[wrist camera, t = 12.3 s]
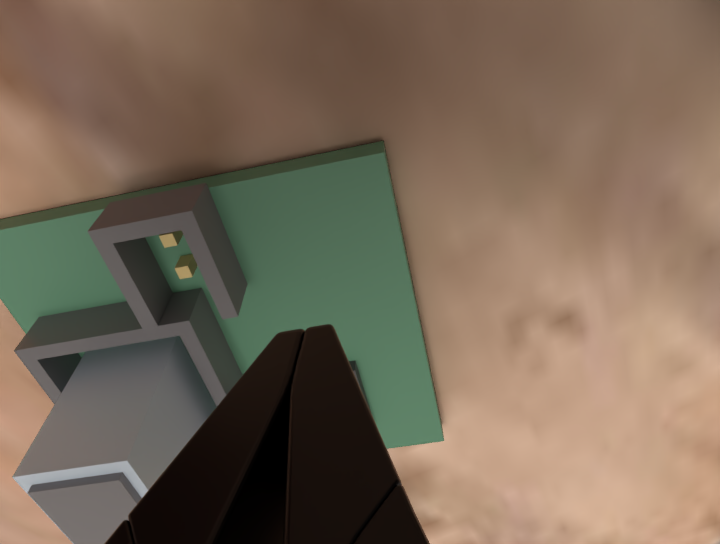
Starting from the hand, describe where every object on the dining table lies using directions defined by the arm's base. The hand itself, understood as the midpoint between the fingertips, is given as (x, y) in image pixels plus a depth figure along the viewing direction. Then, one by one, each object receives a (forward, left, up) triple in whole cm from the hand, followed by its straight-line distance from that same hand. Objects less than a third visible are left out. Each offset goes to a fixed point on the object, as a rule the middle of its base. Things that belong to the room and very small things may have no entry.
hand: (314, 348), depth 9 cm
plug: (+10, +10, -11) cm, 18 cm away
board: (+7, +9, -12) cm, 17 cm away
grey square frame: (+10, +10, -12) cm, 19 cm away
